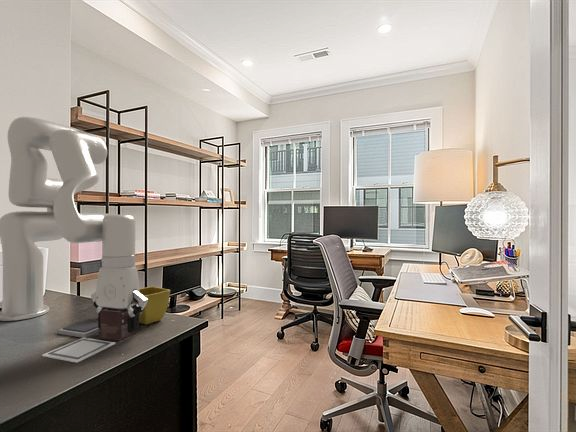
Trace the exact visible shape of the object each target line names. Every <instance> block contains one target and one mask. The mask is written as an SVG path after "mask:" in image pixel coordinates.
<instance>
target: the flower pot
mask: <svg viewBox="0 0 576 432" xmlns="http://www.w3.org/2000/svg"><path fill="white" fill-rule="evenodd" d="M139 293H140V294H142V295H143V296H144V297H145V298H147V299H148V302H147V304H146V306H145V309H144V310H143V311H142V312H141V314H139V324H143V325H149V324H152V323H154V322H156V323H157V322H159V321H161V320H162V319H163V317H165V314H166V312H167V310H168V308H169V307H168V306H169V302H170V296H171V289H167V288H162V287H157V286H152V285H151V286H148V287H142V288H139ZM138 305H139V303H138Z"/></svg>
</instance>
